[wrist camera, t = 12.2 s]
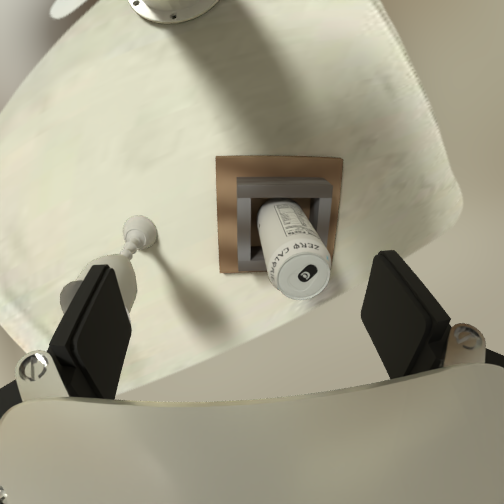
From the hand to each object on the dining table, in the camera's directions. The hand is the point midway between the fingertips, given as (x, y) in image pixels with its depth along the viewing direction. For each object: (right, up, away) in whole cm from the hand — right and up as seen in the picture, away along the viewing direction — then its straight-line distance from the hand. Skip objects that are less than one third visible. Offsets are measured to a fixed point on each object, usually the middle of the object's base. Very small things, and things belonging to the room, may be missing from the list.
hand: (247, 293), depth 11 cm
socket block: (+4, +6, +31) cm, 31 cm away
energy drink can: (+4, +6, +30) cm, 30 cm away
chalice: (-15, +4, +31) cm, 34 cm away
